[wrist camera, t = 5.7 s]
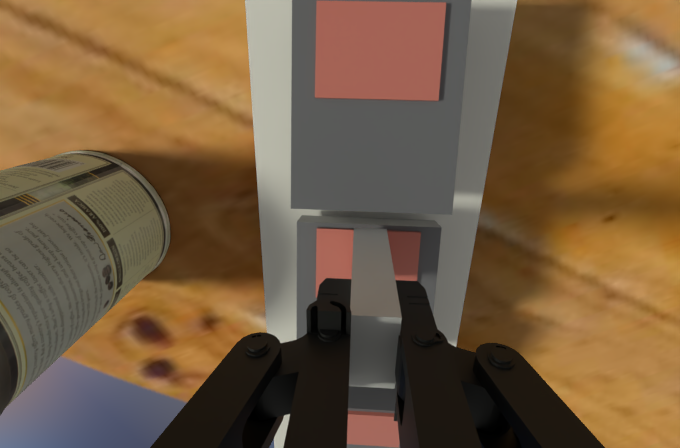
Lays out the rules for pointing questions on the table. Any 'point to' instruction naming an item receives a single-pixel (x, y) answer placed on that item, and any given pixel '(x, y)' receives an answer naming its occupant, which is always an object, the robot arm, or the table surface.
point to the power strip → (281, 221)
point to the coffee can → (69, 254)
